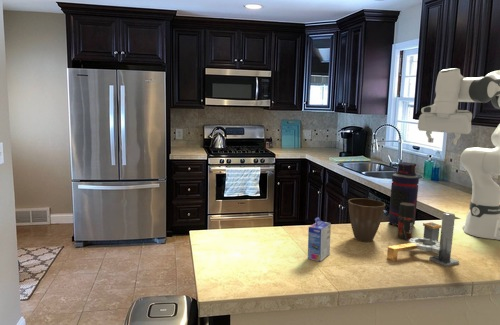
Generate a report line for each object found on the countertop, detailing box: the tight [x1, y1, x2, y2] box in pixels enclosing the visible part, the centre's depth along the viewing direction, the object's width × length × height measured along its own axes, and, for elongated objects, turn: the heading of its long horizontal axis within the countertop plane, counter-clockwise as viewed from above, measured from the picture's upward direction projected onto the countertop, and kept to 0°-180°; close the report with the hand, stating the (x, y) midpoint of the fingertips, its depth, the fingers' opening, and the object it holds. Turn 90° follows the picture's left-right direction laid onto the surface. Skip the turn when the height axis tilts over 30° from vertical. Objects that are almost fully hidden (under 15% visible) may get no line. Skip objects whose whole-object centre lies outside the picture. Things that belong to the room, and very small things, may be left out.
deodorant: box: [396, 202, 415, 241], centre depth 177 cm, size 6×6×15 cm
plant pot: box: [348, 198, 386, 243], centre depth 174 cm, size 15×15×16 cm
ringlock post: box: [386, 212, 460, 267], centre depth 153 cm, size 23×18×18 cm
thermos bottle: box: [388, 161, 421, 227], centre depth 196 cm, size 14×12×30 cm
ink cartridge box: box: [307, 216, 332, 262], centre depth 152 cm, size 10×6×14 cm, turn 149°
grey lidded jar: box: [422, 221, 442, 246], centre depth 169 cm, size 5×5×9 cm
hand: (441, 143), depth 168 cm, fingers open, 8 cm apart
